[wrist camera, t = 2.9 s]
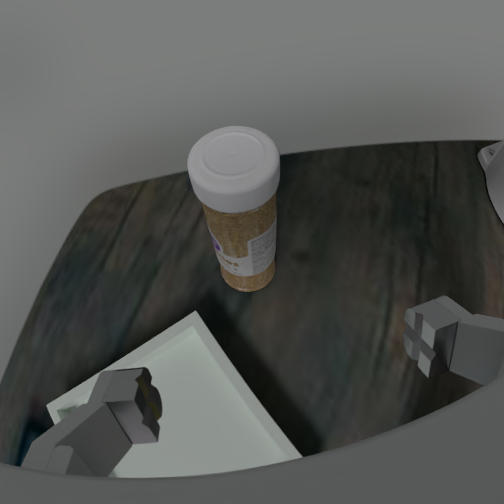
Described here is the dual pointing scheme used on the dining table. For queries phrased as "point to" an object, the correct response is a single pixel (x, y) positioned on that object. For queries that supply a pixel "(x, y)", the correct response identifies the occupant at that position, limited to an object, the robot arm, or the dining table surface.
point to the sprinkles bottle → (239, 201)
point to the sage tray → (193, 409)
